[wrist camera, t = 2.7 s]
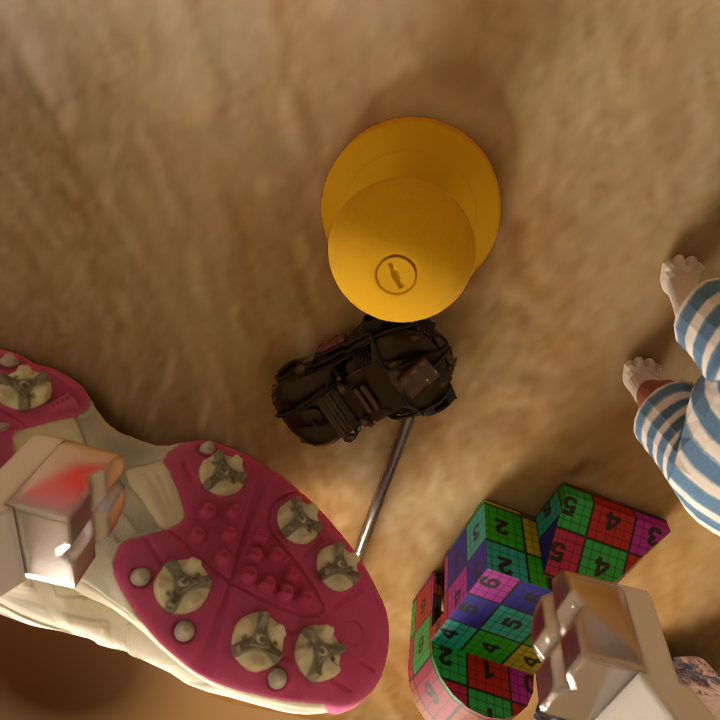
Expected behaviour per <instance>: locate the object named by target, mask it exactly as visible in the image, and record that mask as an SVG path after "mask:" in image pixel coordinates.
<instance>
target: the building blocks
mask: <svg viewBox="0 0 720 720" xmlns="http://www.w3.org/2000/svg"><path fill="white" fill-rule="evenodd" d="M669 532H671V531H670V529H669V526H668V524H667V521H666V520H664V519H661V518H658V517H655V516H653V515H650V514H647V513H644V512H642V511H639V510H636V509H633V508H631V507H628V506H625V505H622V504H620V503H617V502H614V501H611V500H609V499H606V498H603V497H601V496H598V495H595V494H592V493H590V492H587V491H584V490H581V489H579V488H576V487H573V486H570V485H568V484H565V483H563V484H562V485H561V486H560V488H559V489H558V490H557V491H556V493H555V494H554V495H553V496H552V498H551V499H550V500H549V501H548V503H547V504H546V505H545V506H544V508H543V509H542V510H541V511H540V513H539V514H538V515H537V516H536V518H533V517H530V516H528V515H525V514H522V513H519V512H516V511H514V510H511V509H508V508H505V507H503V506H500V505H497V504H494V503H491V502H489V501H486V500H483V502H482V503H481V504H480V506H479V507H478V509H477V510H476V512H475V513H474V514H473V516H472V517H471V519H470V520H469V522H468V523H467V524H466V526H465V527H464V529H463V530H462V532H461V533H460V534H459V536H458V537H457V539H456V540H455V542H454V543H453V545H452V546H451V547H450V549H449V550H448V552H447V553H446V555H445V583H444V612H443V611H441V587H442V574H439V573H436V572H433V573H432V575H431V576H430V577H429V579H428V580H427V582H426V583H425V585H424V586H423V587H422V589H421V590H420V592H419V593H418V595H417V596H416V597H415V599H414V600H413V606H412V621H411V635H410V649H409V664H408V675H409V687H410V690H411V693H412V696H413V699H414V702H415V704H416V706H417V708H418V709H419V711H420V712H421V714H422V716H423V717H424V719H425V720H512V719H513V718H514V717H516V716H517V715H518V714H519V713H520V712H521V711H522V710H523V709H524V708H525V707H527V705H528V703H529V701H530V698H531V696H532V693H533V678H534V674H535V673H536V671H537V670H538V669H539V667H540V666H541V664H542V663H543V662H542V661H541V660H540V658H539V657H538V655H537V654H536V652H535V651H534V649H533V646H532V636H531V629H532V619H533V615H534V611H535V607H536V605H537V604H538V602H539V600H540V598H541V597H542V596H543V595H546V594H548V593H551V592H553V588H552V582H551V581H552V580H553V578H554V577H555V576H556V574H557V573H558V572H560V571H562V570H566V571H570V572H574V573H578V574H582V575H586V576H590V577H594V578H598V579H602V580H606V581H610V582H614V583H615V584H617V583H618V582H619V581H620V580H621V579H622V578H623V577H624V576H625V575H626V574H627V573H628V572H629V571H630V570H631V569H632V568H633V567H634V566H635V565H636V564H638V563H639V562H640V561H641V560H642V559H643V558H644V557H645V556H646V555H647V554H648V553H649V552H650V551H651V550H652V549H653V548H654V547H655V546H656V545H657V544H658V543H659V542H660V541H661V540H662V539H663V538H664V537H665V536H666V535H667V534H668V533H669Z"/></svg>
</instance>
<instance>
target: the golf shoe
mask: <svg viewBox="0 0 720 720" xmlns="http://www.w3.org/2000/svg"><path fill="white" fill-rule="evenodd" d="M41 432H42V433H45V434H49V435H52V436H56V437H59V438H63V439H67V440H71V441H74V442H78V443H81V444H85V445H88V446H92V447H95V448H99V449H102V450H106V451H109V452H112V453H116V454H119V455H121V456H124V465H125V470H124V472H123V473H122V474H121V476H120V477H119V479H120V480H121V482H122V483H123V484H124V486H125V494H126V496H125V502H124V507H123V510H122V512H121V515H120V517H119V520H118V522H117V524H116V526H115V527H114V529H113V531H112V532H111V534H110V535H109V537H107V538H105V539H103V540H101V541H99V542H97V543H95V556H96V557H95V558H94V560H93V561H92V563H91V564H90V566H89V568H88V569H87V571H86V572H85V574H84V575H83V577H82V578H81V580H80V581H79V583H78V584H77V586H76V587H75V588H70V587H66V586H62V585H58V584H53V583H49V582H45V581H40V580H36V579H32V578H28V577H26V581H24V582H23V583H21V584H20V585H18V586H17V587H15V588H13V589H12V590H10V591H9V592H7V593H6V594H4V595H2V596H1V597H0V614H1V615H4V616H6V617H9V618H12V619H14V620H17V621H20V622H23V623H26V624H29V625H32V626H36V627H41V628H47V629H53V630H57V631H63V632H66V633H70V634H73V635H78V636H81V637H86V638H89V639H91V640H94V641H95V642H96V643H97V644H98V645H102V646H105V647H108V648H112V649H118V650H122V651H127V652H128V653H129V654H130V655H131V656H133V657H136V658H139V659H142V660H144V661H147V662H149V663H151V664H153V665H155V666H157V667H159V668H161V669H164V670H166V671H168V672H170V673H171V674H173V675H174V676H176V677H177V678H179V679H180V680H182V681H183V682H185V683H186V684H188V685H191V686H194V687H197V688H199V689H201V690H204V691H207V692H211V693H215V694H219V695H223V696H227V697H231V698H234V699H238V700H242V701H245V702H249V703H252V704H256V705H260V706H263V707H267V708H271V709H275V710H278V711H282V712H288V713H295V714H320V713H326V712H329V713H331V714H340V713H342V712H345V711H347V710H350V709H352V708H354V707H355V706H357V705H358V704H359V703H360V702H361V701H363V700H364V699H365V698H366V697H367V696H368V695H369V694H370V693H371V692H372V691H373V690H374V688H375V687H376V685H377V683H378V681H379V680H380V678H381V675H382V672H383V669H384V666H385V662H386V658H387V653H388V643H389V625H388V618H387V613H386V609H385V607H384V604H383V601H382V599H381V597H380V595H379V593H378V591H377V589H376V587H375V585H374V583H373V581H372V579H371V577H370V575H369V573H368V572H367V570H366V568H365V567H364V565H363V563H362V562H361V560H360V558H359V556H358V555H357V554H356V553H355V551H354V550H353V548H352V547H351V546H350V545H349V543H348V542H347V541H346V540H345V538H344V537H343V536H342V535H341V533H340V532H339V531H338V530H337V529H336V528H335V526H334V525H333V524H332V523H331V522H330V521H329V519H328V518H327V517H326V516H325V515H324V514H323V513H322V512H321V511H320V510H319V508H318V507H317V505H316V504H314V503H312V502H311V501H310V500H309V499H308V498H307V497H306V496H305V495H304V494H302V493H301V492H300V491H299V490H298V489H297V488H296V487H294V486H293V485H292V484H291V483H290V482H288V481H287V480H286V479H285V478H284V477H282V476H281V475H279V474H277V473H275V472H274V471H272V470H270V469H268V468H266V467H265V466H263V465H261V464H260V463H259V462H258V461H257V460H256V459H254V458H253V457H251V456H249V455H247V454H245V453H242V452H240V451H238V450H235V449H233V448H230V447H227V446H224V445H221V444H218V443H214V442H212V441H189V442H184V443H177V444H173V445H170V446H165V445H162V446H157V445H153V444H151V443H148V442H144V441H141V440H138V439H136V438H133V437H131V436H127V435H124V434H122V433H120V432H118V431H116V429H115V428H113V427H111V426H110V425H109V424H108V423H107V422H106V421H105V420H104V419H103V417H102V415H101V414H100V413H99V412H98V411H97V409H96V408H95V406H94V404H93V402H92V401H91V399H90V397H89V395H88V394H87V392H86V391H85V389H84V388H83V387H82V386H81V385H80V384H79V383H77V382H76V381H75V380H73V379H72V378H70V377H68V376H67V375H65V374H63V373H62V372H60V371H58V370H55V369H53V368H50V367H45V366H41V365H37V364H34V363H32V362H31V361H29V360H28V359H27V358H25V357H23V356H21V355H19V354H16V353H13V352H10V351H6V350H3V349H0V469H1V467H2V466H3V465H4V464H5V463H6V462H7V461H8V460H9V459H10V458H11V457H12V456H13V455H14V454H15V453H16V452H17V451H18V450H19V449H20V448H21V447H22V446H23V445H24V444H25V443H26V442H27V441H28V440H29V439H30V438H31V437H33V436H35V435H37V434H39V433H41Z"/></svg>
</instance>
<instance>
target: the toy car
mask: <svg viewBox="0 0 720 720" xmlns="http://www.w3.org/2000/svg"><path fill="white" fill-rule="evenodd" d="M435 325H436V323H435V322H432V321H429V320H426V319H422V320H418V321H414V323H411V322H390V321H385V320H381V319H378V318H375V317H373V316H371V315H369V314H366V315H365V316H364V318H363V319H362V321H361V323H359V324H358V325H357V326H356V327H355V328H354V329H353V331H352V333H351V334H350V336H349V337H348V336H347V335H346V334H340V335H337V336H336V337H334V338H332V339H330V340H328V341H326V342H324V343H322V344H320V345H319V347H318V350H317V352H316V353H315V356H312V357H309V358H306V360H305V361H304V363H302V362H301V361H300V360H299V359H296V360H293V361H291V362H289V363H287V364H286V365H284V366H283V367H282V368H281V369H280V370H279V371H278V372H277V374H276V376H275V378H276V380H277V382H278V384H273V385H272V387H271V389H272V392H273V393H272V399H273V401H272V403H273V405H274V406H275V408H276V410H277V412H278V413H277V414H276V415H275V416H276V417H277V418H282V419H283V421H284V422H285V423H286V424H287V426H288V427H289V428H290V429H291V430H292V431H293V432H294V433H295V435H297V436H298V438H300V440H301V442H302V443H306V444H311V445H313V446H317V447H318V446H320V447H321V446H326V445H329V444H332V443H334V442H336V441H337V440H338V439H340V438H341V437H342V438H343V440H344V441H345V442H352V441H353V440H355V439H356V437H357V435H358V427H359V426H360V425H361V424H362V425H363V426H364V427H367V426H369V427H370V428H372V427H373V426H374V424H375V423H376V422H378V421H380V420H382V419H384V418H386V417H389V418H391V419H395V420H399V419H406V418H411V417H415V416H420V415H421V416H431V415H434V414H437V413H439V412H441V411H442V410H444V409H445V408H447V407H448V406H449V405H450V404H451V403H452V401H454V399H456V398H457V397H456V395H455V392H454V390H453V387H452V384H451V381H452V377H451V375H452V374H453V370H454V367H455V363H456V360H457V357H456V358H454V359H453V354H452V347H451V346H448V345H449V342H448V340H447V339H446V338H445V337H444V336H442V335H441V334H440V333H439V332H438V331H437V330H436V329H435ZM360 327H362V328H363V330H364V331H365V332H366V333H365V334H363V335H361V334H360ZM413 327H414V328H415V330H413ZM434 329H435V330H434ZM422 331H425V332H424V333H420V332H422ZM431 333H432V335H431ZM367 336H369V337H368V338H366V337H367ZM431 337H432V338H431ZM444 342H445V345H444ZM322 356H323V358H322ZM353 430H354V433H355V434H354V433H351V432H352V431H353ZM360 430H361V426H360ZM359 432H360V431H359ZM350 433H351V434H350ZM343 436H344V437H343Z"/></svg>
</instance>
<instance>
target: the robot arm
mask: <svg viewBox="0 0 720 720" xmlns="http://www.w3.org/2000/svg"><path fill="white" fill-rule="evenodd" d="M124 470H125V465H124V456H121V455H119V454H116V453H112V452H109V451H106V450H102V449H99V448H95V447H92V446H88V445H85V444H81V443H78V442H74V441H71V440H67V439H63V438H59V437H56V436H52V435H49V434H45V433H42V432H41V433H39V434H37V435H35V436H33V437H31V438H30V439H29V440H28V441H27V442H26V443H25V444H24V445H23V446H22V447H21V448H20V449H19V450H18V451H17V452H16V453H15V454H14V455H13V456H12V457H11V458H10V459H9V460H8V461H7V462H6V463H5V464H4V465H3V466H2V467H1V469H0V597H1V596H2V595H4V594H6V593H7V592H9V591H10V590H12V589H13V588H15V587H17V586H18V585H20V584H21V583H23V582H24V581H26V577H28V578H32V579H36V580H40V581H45V582H49V583H53V584H58V585H62V586H66V587H70V588H75V587H76V586H77V584H78V583H79V581H80V580H81V578H82V577H83V575H84V574H85V572H86V571H87V569H88V568H89V566H90V564H91V563H92V561H93V560H94V558H95V557H96V556H95V543H97V542H99V541H101V540H103V539H105V538H107V537H109V535H110V534H111V532H112V531H113V529H114V527H115V526H116V524H117V522H118V520H119V517H120V515H121V512H122V510H123V507H124V502H125V496H126V494H125V486H124V484H123V483H122V482H121V480H120V479H119V477H120V476H121V474H122V473H123V472H124ZM551 582H552V588H553V592H551V593H548V594H546V595H543V596H542V597H541V598H540V600H539V602H538V604H537V605H536V607H535V611H534V615H533V619H532V629H531V636H532V646H533V649H534V651H535V652H536V654H537V655H538V657H539V658H540V660H541V661H542V662H543V663H542V664H541V666H540V667H539V669H538V670H537V671H536V681H537V689H538V698H539V706H540V712H543V713H547V714H550V715H554V716H557V717H560V718H564V719H567V720H717V719H716V717H715V716H714V715H713V714H712V713H711V712H710V710H709V709H708V708H707V707H706V706H705V704H704V703H703V702H702V701H701V700H700V699H699V697H698V696H697V695H696V694H695V693H694V692H693V690H692V689H691V688H690V687H689V686H688V685H686V684H682V683H679V680H678V677H677V674H676V671H675V667H674V664H673V661H672V658H671V655H670V652H669V649H668V646H667V643H666V640H665V637H664V634H663V631H662V628H661V625H660V622H659V619H658V616H657V613H656V610H655V607H654V604H653V601H652V598H651V597H650V595H649V594H648V593H647V592H646V591H643V590H639V589H636V588H632V587H628V586H624V585H620V584H615V583H614V582H610V581H606V580H602V579H598V578H594V577H590V576H586V575H582V574H578V573H574V572H570V571H566V570H562V571H560V572H558V573H557V574H556V576H555V577H554V578H553V580H552V581H551Z"/></svg>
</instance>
